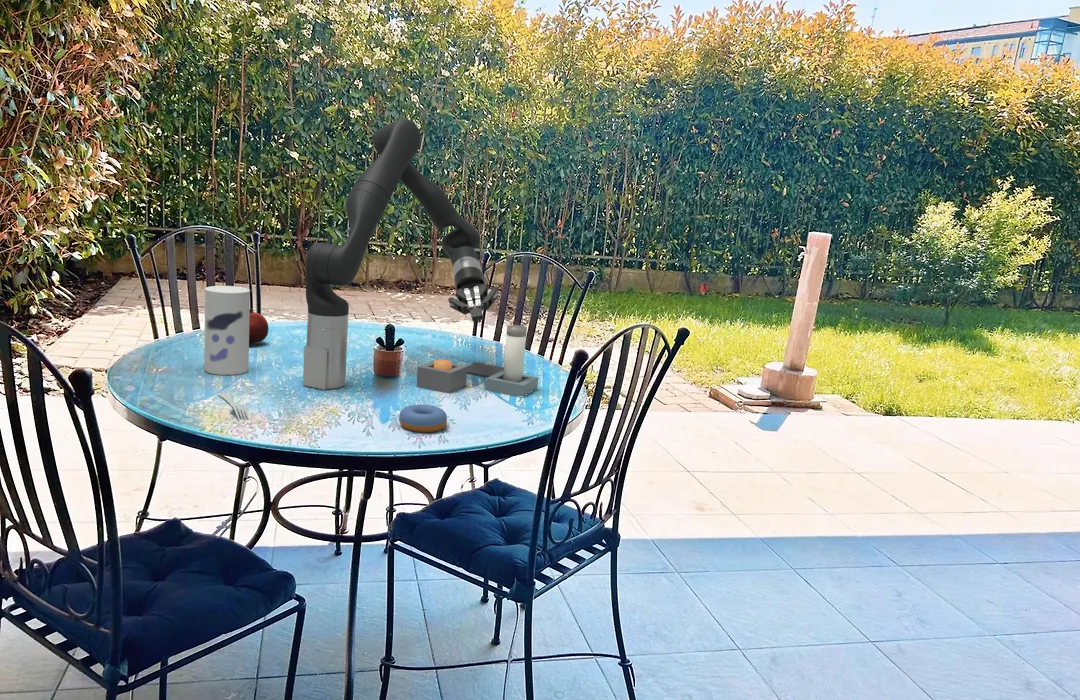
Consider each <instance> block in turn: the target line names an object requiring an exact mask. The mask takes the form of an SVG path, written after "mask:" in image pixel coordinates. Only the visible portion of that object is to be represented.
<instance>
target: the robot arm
mask: <svg viewBox="0 0 1080 700" xmlns="http://www.w3.org/2000/svg"><path fill="white" fill-rule="evenodd" d="M372 144H373V147H374V150H375V151H376V153H377V155H378V156H377V158H375V160H374V161H373V162H371V164H370V165H368V167H367V168H366V169H365V170H363V172H362V173H361V174H360V175H359V176H358V178H357V179H356V181H355V182H354V184H353V186H352V187H351V189H350V191H349V194H348V195H347V197H346V200H345V212H346V217H347V220H348V223H349V234H348V236H347V239H346V241H345V242H344V243H342V244H334V243H328V242H327V243H326V242H315V243H313V244H312V245H311V246H310V247H309V249H308V251H307V253H306V259H305V267H304V269H305V299H306V303H307V321H306V323H307V325H306V326H307V327H306V345H305V346H304V347H303V348H304V349H303V351H304V352H303V376H302V379H303V380H302V385H303V386H305V387H310V388H313V389H319V390H324V391H326V390H330V389H339V388H342V387H344V386H346V379H347V377H346V375H347V355H348V354H347V353H348V352H347V351H348V333H349V313H350V312H349V310H350V305H349V301H348V300H346V299H344V298H343V297H341V296H339V295H338V294H337V293H336V292H335V291H334V290H333V289H332V288H331V286H332V285H333V286H342V287H343V286H344V287H345V286H348V285H350V284H352V282H353V281H354V280H355V278H356V276H357V275H358V272H359V270H360V267H361V266H362V265H361V264H362V262H363V259H364V257H365V254H366V250H367V248H368V246H369V244H370V241H371V239H372V236H373V234H374V232H375V230H376V228H377V226H378V224H379V222H380V220H381V218H382V216H383V214H384V213H385V212H386V208H387V207H388V205H389V203H390V200H391V197H392V195H393V194H394V191H395V189H396V188H397V186H398V183H399V181H401V182H402V183H403V184H404V185H405V187H406V188H407V189H408V190H409V192H410V193H412V195H413V196H414V197H415V198H416V200H417V201H418V203H420V205H421V207H422V208H423V210H424V212H425V213H426V214H427V216H428V217H429V219H430V220H431V222H432V223H433V225H434V226H435V227H436V228H437V229H444V228H448V227H454V228H455V227H456V229H454V230H452V231H451V232H448V233H447V234H445V235H444V236H443V237H442V239H441V248H442V250H443V252H444V253H445V255H447V257H449V259H450V261H451V265H452V268H453V269H452V270H453V272H452V275H453V281H454V285H455V289H456V291H455V293H454V295H455V296H452V297H451V296H450V297H448V299H447V300H448V305H449V307H450V308H451V309H453V310H455V311H456V312H458V313H460V314H463V315H465V316H466V315H468V314H470V317H471V321H472V322H473V323H474V322H475V324H478V323H482V320H484V315H483V314H484V313H483V311H488V310H489V309H490V308H491V307H492V305H493V304H494V303H495V302H496V300H497V299H498V297H499V295H498V290H497V288H495V287H493V288H492V289H491V288H489V287H488V286H487V285H486V282H485V277H484V273H483V269H482V267H481V264H480V261H479V256H478V253H477V252H476V249H477V248H478V247H479V246H480V245H481V234H480V233H479V231H478V230H477V229H476V227H474V226H473V225H472V224H471V223H470V222H468V221H467V220H466V219H465V218H464V217H463V216H462V215H461V214H460V213H459V212H458V211H457V209H456V208H455V206H454V204H453V203H452V202H451V200H450V199H449V197H448V195H447V194H446V193H445V192H444V190H443V189H442V187H440V186H439V185H437V184H436V183H435V182H434V181H432V180H431V179H429V178H428V177H426V175H424V174H422V173H421V172H420V171H419V170H417V168H415V166H414V165H413V164H412V163H411V162H412V160H413V158H414V157H415V156H416V154H417V152H418V151H419V149H420V145H421V132H420V129H419V127H418V125H417V124H416V123H415V122H414V121H413V120H411V119H406V118H402V119H396V120H394V121H393V122H390V123H388V124H386V125H384V126H382V127H380V128H379V129H377V130H375V132H374V134H373V138H372Z"/></svg>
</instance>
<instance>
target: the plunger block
mask: <svg viewBox="0 0 1080 700" xmlns="http://www.w3.org/2000/svg"><path fill="white" fill-rule="evenodd" d="M434 361H435V360H432V361H430V362H428V363H424V364H421V365H418V366H417V371H416V372H417V374H416V385H415V386H416V387H417V388H421V389H422V388H423V389H426V390H431V391H435V392H436V391H437V392H440V391H441V393H445V392H447V394H451V393H453V392H454V391H457V389H458V390H460V389H462V388H464V387H467V379H468V377H467V376H468V374H467V366H468V365H462V364H458V363H453V362H452V369H450V370H448V371H447V370H442V369H437V368H434ZM461 387H462V388H461ZM459 388H460V389H459ZM452 391H453V392H452ZM450 392H451V393H450Z"/></svg>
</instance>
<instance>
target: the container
mask: <svg viewBox="0 0 1080 700" xmlns="http://www.w3.org/2000/svg"><path fill="white" fill-rule="evenodd" d="M250 292H251V289H249V288H246V287H242V286H236V285H235V286H233V285H213V286H212V285H211V286H207V287H205V288H204V350H203V351H204V352H203V353H204V357H203V359H204V365H203V368H204V371H205V372H206V373H208V374H213V375H221V376H231V375H240V374H245V373H246V372H248V371H249V364H250V362H249V356H250V355H249V354H250V353H249V351H250V348H249V347H250V344H249V313H250V309H251V308H250V306H251V305H250V304H251V293H250Z"/></svg>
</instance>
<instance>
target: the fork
mask: <svg viewBox="0 0 1080 700" xmlns="http://www.w3.org/2000/svg"><path fill="white" fill-rule="evenodd" d="M217 395H218V396H219V397H221V398H222V399H224V400H225V401H226V402H227V403H228V404H229V405H230V407H232V408H233V410H234V413H235V416H237V417H236V418H237V419H238V421H239V422H241V421H243V422H244V421H250V418H249V412H248V407H247V406H246V404H236V403H235V402H234V400H233V396H232V395H231V393H229V392H226V393H218V394H217Z"/></svg>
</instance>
